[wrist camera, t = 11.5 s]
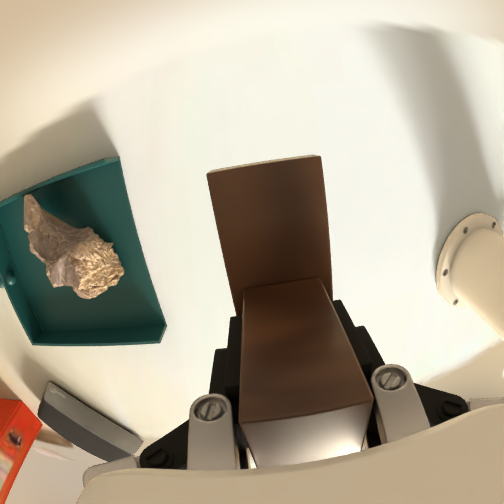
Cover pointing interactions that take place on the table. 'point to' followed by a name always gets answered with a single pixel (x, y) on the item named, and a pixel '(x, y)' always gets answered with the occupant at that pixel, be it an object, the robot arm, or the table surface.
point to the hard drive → (85, 426)
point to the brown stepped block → (288, 314)
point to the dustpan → (65, 298)
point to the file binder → (14, 440)
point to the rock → (71, 252)
